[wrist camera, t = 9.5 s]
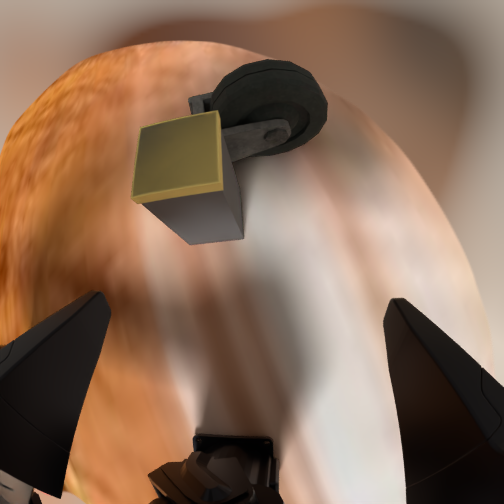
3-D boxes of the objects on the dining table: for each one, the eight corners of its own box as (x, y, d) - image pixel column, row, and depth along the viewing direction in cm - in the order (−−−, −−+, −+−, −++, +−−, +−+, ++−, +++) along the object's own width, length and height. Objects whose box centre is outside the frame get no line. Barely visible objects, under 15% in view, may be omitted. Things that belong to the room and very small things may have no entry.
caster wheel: (304, 121, 26) (156, 144, 25) (321, 47, 16) (123, 75, 16) (320, 166, 24) (157, 193, 24) (350, 93, 15) (115, 128, 14)
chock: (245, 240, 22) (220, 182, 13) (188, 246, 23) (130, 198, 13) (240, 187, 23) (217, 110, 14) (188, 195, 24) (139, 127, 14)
